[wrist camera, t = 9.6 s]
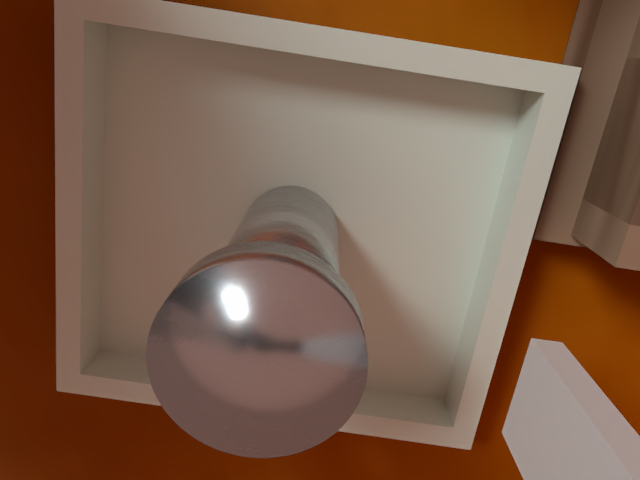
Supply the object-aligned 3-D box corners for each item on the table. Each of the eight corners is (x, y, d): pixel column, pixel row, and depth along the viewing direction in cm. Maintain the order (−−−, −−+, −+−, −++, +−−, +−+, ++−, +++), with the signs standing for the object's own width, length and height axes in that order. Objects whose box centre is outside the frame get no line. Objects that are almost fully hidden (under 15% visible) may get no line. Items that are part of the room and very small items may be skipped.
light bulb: (223, 280, 23) (141, 442, 13) (235, 162, 22) (150, 246, 12) (342, 297, 23) (348, 471, 13) (362, 181, 22) (386, 280, 12)
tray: (86, 354, 26) (55, 390, 23) (92, -7, 21) (54, -17, 18) (455, 407, 26) (470, 450, 23) (548, 67, 21) (581, 67, 18)
